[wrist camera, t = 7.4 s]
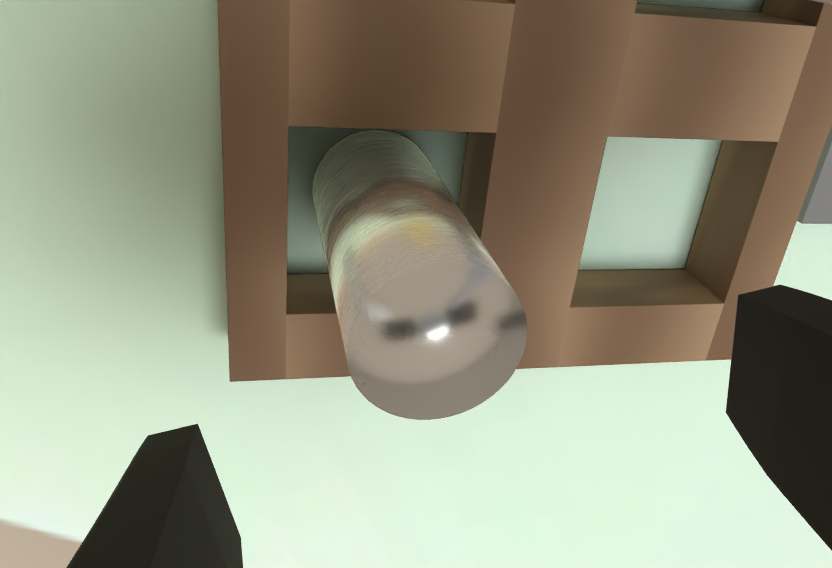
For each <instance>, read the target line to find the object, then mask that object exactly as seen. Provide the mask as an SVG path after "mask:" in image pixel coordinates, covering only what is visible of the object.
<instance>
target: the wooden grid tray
mask: <svg viewBox="0 0 832 568" xmlns="http://www.w3.org/2000/svg"><path fill="white" fill-rule="evenodd" d="M217 1H218V32H219V63H220V94H221V125H222V156H223V187H224V218H225V249H226V280H227V311H228V341H229V372H230V382H233V381H255V380H278V379H300V378H323V377H345V376H351V374H350V371H349V368H348V363H347V358H346V354H345V349H344V344H343V339H342V335H341V330H340V325H339V320H338V315H337V311H336V306H335V301H334V296H333V292H332V287H331V282H330V277H329V274H287V206H288V126H302V127H333V128H364V129H396V130H427V131H458V132H468V137H467V145H466V153H465V160H464V168H463V176H462V184H461V192H460V199H459V208H460V209H461V211H462V212H463V214H464V216H465V217H466V219H467V220H468V222H469V223H470V225H471V226H472V228H473V229H474V231H475V232H476V234H477V235H478V237H479V238H480V240H481V242H482V243H483V245H484V246H485V248H486V249H487V251H488V252H489V254H490V255H491V257H492V258H493V260H494V261H495V263H496V264H497V266H498V268H499V269H500V271H501V272H502V274H503V275H504V277H505V278H506V280H507V281H508V283H509V284H510V286H511V287H512V289H513V291H514V292H515V294H516V295H517V297H518V299H519V300H520V302H521V304H522V306H523V309H524V312H525V316H526V322H527V339H526V345H525V349H524V352H523V355H522V358H521V360H520V362H519V364H518V366H517V368H516V369H525V368H547V367H570V366H592V365H614V364H637V363H659V362H682V361H704V360H727V359H732V349H733V340H734V330H735V320H736V311H737V301H738V295H739V294H744V293H748V292H752V291H756V290H760V289H765V288H769V287H773V285H774V282H775V279H776V276H777V274H778V271H779V268H780V265H781V263H782V260H783V257H784V254H785V252H786V249H787V246H788V243H789V241H790V238H791V235H792V232H793V230H794V227H795V224H796V221H797V219H798V216H799V213H800V210H801V208H802V205H803V202H804V199H805V197H806V194H807V191H808V188H809V186H810V183H811V180H812V177H813V175H814V172H815V169H816V166H817V164H818V161H819V158H820V155H821V153H822V150H823V147H824V144H825V142H826V139H827V136H828V133H829V131H830V128H831V125H832V0H764V3H763V7H762V10H761V13H759V12H746V11H733V10H720V9H707V8H694V7H681V6H669V5H656V4H643V3H637V0H217ZM607 136H613V137H644V138H675V139H706V140H723V142H722V145H721V149H720V152H719V155H718V159H717V162H716V165H715V169H714V172H713V176H712V179H711V182H710V186H709V189H708V193H707V196H706V199H705V203H704V206H703V209H702V213H701V216H700V220H699V223H698V226H697V230H696V233H695V236H694V240H693V243H692V247H691V250H690V253H689V257H688V260H687V263H686V267H685V269H661V270H583V271H578V268H579V263H580V259H581V254H582V250H583V245H584V240H585V236H586V231H587V227H588V222H589V218H590V213H591V209H592V204H593V200H594V195H595V190H596V186H597V181H598V177H599V172H600V168H601V163H602V159H603V154H604V149H605V145H606V140H607Z"/></svg>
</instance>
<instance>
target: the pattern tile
mask: <svg viewBox="0 0 832 568" xmlns="http://www.w3.org/2000/svg"><path fill="white" fill-rule="evenodd" d="M797 221H799V222H800V223H805V224H832V125H831V128H830V131H829V133H828V136H827V139H826V142H825V144H824V147H823V150H822V153H821V155H820V158H819V161H818V164H817V166H816V169H815V172H814V175H813V177H812V180H811V183H810V186H809V188H808V191H807V194H806V197H805V199H804V202H803V205H802V208H801V210H800V213H799V216H798V219H797Z"/></svg>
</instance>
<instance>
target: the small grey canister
mask: <svg viewBox="0 0 832 568" xmlns="http://www.w3.org/2000/svg"><path fill="white" fill-rule="evenodd" d="M312 190H313V201H314V206H315V211H316V215H317V220H318V225H319V230H320V235H321V239H322V244H323V249H324V254H325V258H326V263H327V268H328V273H329V277H330V282H331V287H332V292H333V296H334V301H335V306H336V311H337V315H338V320H339V325H340V330H341V335H342V339H343V344H344V349H345V354H346V358H347V363H348V368H349V371H350V374H351V377H352V379H353V381H354V383H355V385H356V387H357V388H358V389H359V391H360V392H361V393H362V395H363V396H364V397H365V398H366V399H367V400H369V401H370V402H371V403H372V404H374V405H375V406H376V407H378V408H380V409H382V410H384V411H386V412H388V413H390V414H393V415H396V416H400V417H404V418H409V419H418V420H429V419H439V418H444V417H449V416H453V415H456V414H459V413H462V412H465V411H467V410H469V409H472V408H474V407H475V406H477V405H479V404H481V403H482V402H484V401H485V400H487V399H488V398H490V397H491V396H492V395H494V394H495V393H496V392H497V391H498V390H499V389H500V388H501V387H502V386H503V385H504V384H505V383H506V382H507V381H508V380H509V378H510V377H511V376H512V374H513V373H514V371H515V369H516V368H517V366H518V364H519V362H520V360H521V358H522V355H523V352H524V349H525V345H526V339H527V322H526V316H525V312H524V309H523V306H522V304H521V302H520V300H519V299H518V297H517V295H516V294H515V292H514V291H513V289H512V287H511V286H510V284H509V283H508V281H507V280H506V278H505V277H504V275H503V274H502V272H501V271H500V269H499V268H498V266H497V264H496V263H495V261H494V260H493V258H492V257H491V255H490V254H489V252H488V251H487V249H486V248H485V246H484V245H483V243H482V242H481V240H480V238H479V237H478V235H477V234H476V232H475V231H474V229H473V228H472V226H471V225H470V223H469V222H468V220H467V219H466V217H465V216H464V214H463V212H462V211H461V209H460V208H459V206H458V205H457V203H456V202H455V200H454V199H453V197H452V196H451V194H450V193H449V191H448V190H447V188H446V186H445V185H444V183H443V182H442V180H441V179H440V177H439V176H438V174H437V173H436V171H435V170H434V168H433V167H432V165H431V164H430V162H429V160H428V159H427V157H426V156H425V155H424V153H423V152H422V150H421V149H420V148H419V147H418V146H417V145H416V144H415V143H413V142H412V141H411V140H409V139H408V138H406V137H404V136H402V135H400V134H397V133H394V132H390V131H385V130H368V131H362V132H358V133H355V134H352V135H350V136H348V137H346V138H344V139H342V140H341V141H339V142H338V143H336V144H335V145H334V146H333V147H332V148H331V149H330V150H329V151H328V152H327V153H326V154H325V155H324V157H323V158H322V160H321V161H320V163H319V165H318V167H317V170H316V172H315V176H314V180H313V188H312Z"/></svg>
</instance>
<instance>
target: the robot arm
mask: <svg viewBox="0 0 832 568" xmlns="http://www.w3.org/2000/svg"><path fill="white" fill-rule="evenodd" d="M726 413H727V415H728V417H729V418H730V420H731V421H732V423H733V424H734V426H735V428H736V429H737V431H738V432H739V434H740V436H741V437H742V439H743V440H744V442H745V443H746V445H747V447H748V448H749V450H750V451H751V452H752V454H753V455H754V457H755V458H756V460H757V461H758V463H759V464H760V466H761V467H762V468H763V470H764V471H765V473H766V474H767V476H768V477H769V478H770V479H771V480H772V482H773V483H774V484H775V485H776V486H777V488H778V489H779V490H780V491H781V492H782V494H783V495H784V496H785V497H786V498H787V499H788V501H789V502H790V503H791V504H792V505H793V506H794V508H795V509H796V510H797V511H798V512H799V513H800V515H801V516H802V517H803V518H804V519H805V520H806V522H807V523H808V524H809V525H810V526H811V527H812V528H813V530H814V531H815V532H816V533H817V534H818V535H819V536H820V538H821V539H822V540H823V541H824V542H825V543H826V544H827V546H828V547H829V548H830V549H831V550H832V300H829V299H826V298H823V297H820V296H817V295H814V294H811V293H807V292H804V291H801V290H797V289H794V288H790V287H787V286H783V285H777V286H773V287H769V288H765V289H760V290H756V291H752V292H748V293H744V294H739V295H738V301H737V311H736V320H735V330H734V340H733V349H732V359H731V368H730V378H729V388H728V397H727V407H726ZM67 568H243V561H242V548H241V537H240V534H239V532H238V529H237V526H236V524H235V521H234V518H233V516H232V513H231V511H230V508H229V505H228V503H227V500H226V497H225V495H224V492H223V489H222V487H221V484H220V481H219V479H218V476H217V474H216V471H215V468H214V466H213V463H212V460H211V458H210V455H209V452H208V450H207V447H206V445H205V442H204V439H203V437H202V434H201V431H200V429H199V426H198V424H195V425H191V426H186V427H182V428H178V429H174V430H170V431H165V432H161V433H157V434H153V435H149V436H147V438H146V439H145V441H144V442H143V443H142V445H141V447H140V448H139V450H138V451H137V453H136V455H135V456H134V458H133V460H132V461H131V463H130V465H129V466H128V468H127V470H126V471H125V473H124V475H123V476H122V478H121V480H120V482H119V483H118V485H117V487H116V488H115V490H114V492H113V493H112V495H111V497H110V498H109V500H108V502H107V503H106V505H105V507H104V508H103V510H102V512H101V513H100V515H99V517H98V518H97V520H96V522H95V523H94V525H93V526H92V528H91V530H90V531H89V533H88V535H87V536H86V538H85V539H84V541H83V542H82V544H81V546H80V547H79V549H78V550H77V552H76V553H75V555H74V557H73V558H72V560H71V561H70V563H69V565H68V566H67Z"/></svg>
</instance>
